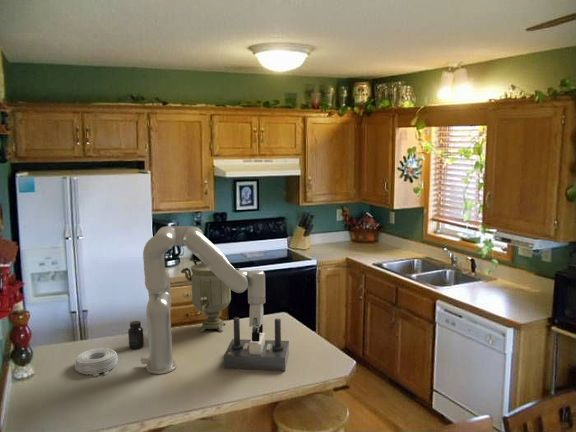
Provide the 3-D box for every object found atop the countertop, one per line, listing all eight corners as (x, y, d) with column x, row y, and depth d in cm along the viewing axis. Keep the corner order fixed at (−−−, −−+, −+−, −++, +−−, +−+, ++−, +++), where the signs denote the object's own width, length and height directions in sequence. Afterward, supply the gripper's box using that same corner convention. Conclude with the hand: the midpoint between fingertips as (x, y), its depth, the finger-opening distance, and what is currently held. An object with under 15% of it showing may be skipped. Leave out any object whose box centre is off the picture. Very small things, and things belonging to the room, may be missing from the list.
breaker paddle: (249, 359, 227) (249, 343, 226) (254, 347, 240) (253, 332, 239) (261, 359, 226) (260, 344, 225) (265, 347, 239) (265, 332, 238)
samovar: (169, 334, 264) (166, 256, 258) (198, 317, 288) (195, 245, 282) (222, 343, 253) (220, 261, 247) (247, 325, 277) (245, 249, 271)
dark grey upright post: (230, 349, 231) (229, 320, 229) (232, 345, 236) (232, 316, 234) (241, 349, 231) (240, 320, 229) (243, 345, 236) (242, 316, 234)
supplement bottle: (147, 345, 251) (146, 321, 249) (136, 350, 245) (134, 326, 243) (137, 342, 254) (135, 318, 253) (125, 347, 249) (124, 323, 247)
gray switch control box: (224, 368, 226) (223, 353, 225) (232, 351, 244) (232, 337, 243) (285, 371, 224) (285, 355, 222) (289, 353, 241) (288, 339, 240)
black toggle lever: (271, 350, 230) (271, 321, 228) (273, 346, 234) (272, 317, 232) (282, 351, 229) (282, 321, 227) (283, 346, 234) (283, 317, 232)
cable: (103, 378, 219) (102, 364, 218) (66, 374, 222) (64, 361, 221) (125, 360, 235) (124, 347, 234) (90, 357, 239) (89, 344, 238)
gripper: (251, 292, 238) (252, 329, 241) (244, 305, 221) (245, 344, 224) (267, 293, 237) (268, 329, 240) (262, 305, 220) (263, 345, 223)
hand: (257, 336), depth 232 cm, fingers open, 9 cm apart
